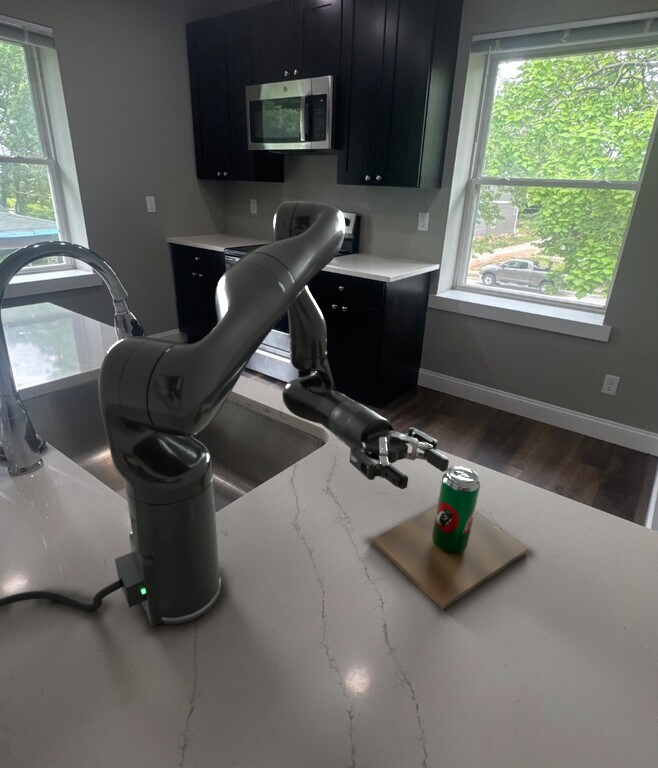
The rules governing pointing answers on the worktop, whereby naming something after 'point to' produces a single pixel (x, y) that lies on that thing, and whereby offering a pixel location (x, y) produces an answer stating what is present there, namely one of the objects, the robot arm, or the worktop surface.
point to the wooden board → (447, 556)
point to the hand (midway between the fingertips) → (427, 474)
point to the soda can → (455, 509)
